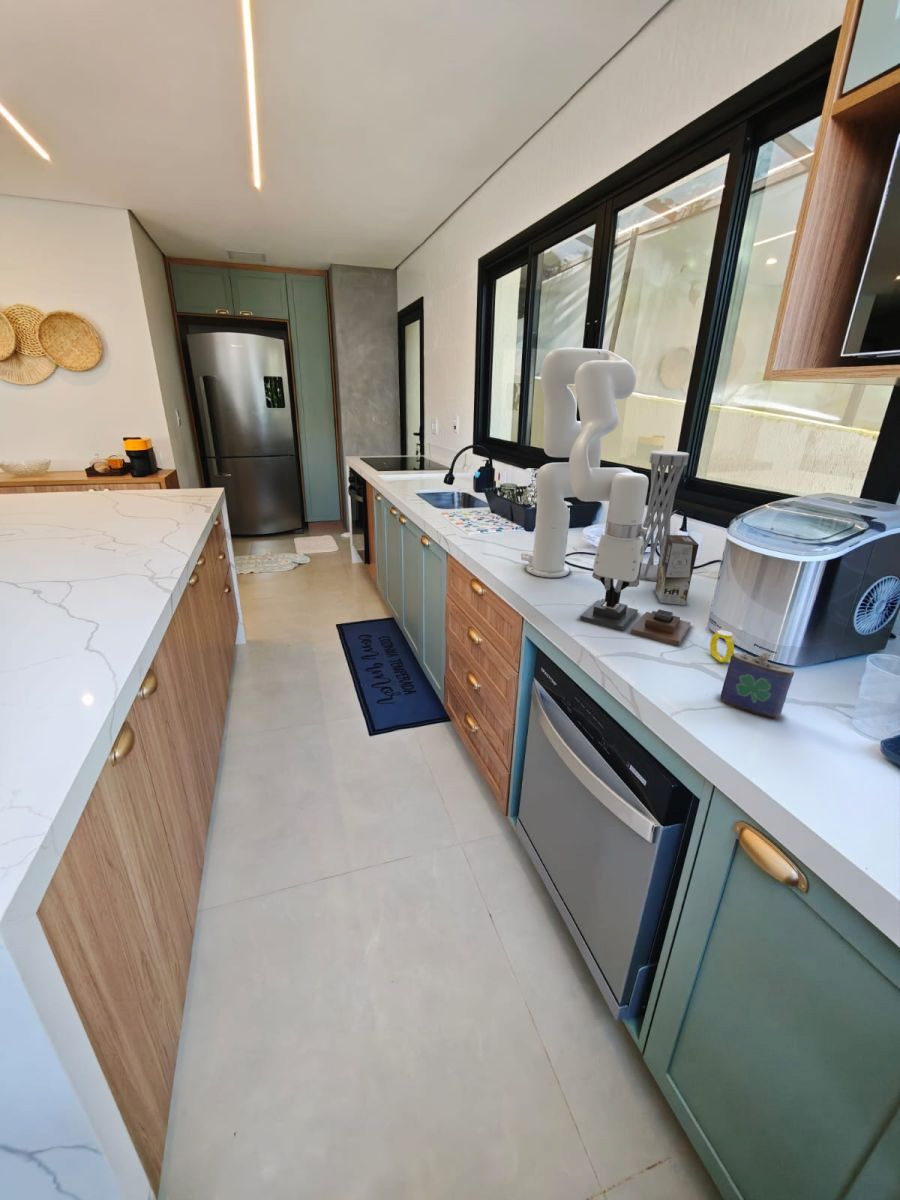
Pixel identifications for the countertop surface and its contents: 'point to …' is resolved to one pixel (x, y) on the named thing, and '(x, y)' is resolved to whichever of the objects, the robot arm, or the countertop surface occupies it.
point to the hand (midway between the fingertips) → (611, 605)
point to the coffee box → (676, 569)
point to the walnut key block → (661, 629)
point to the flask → (756, 685)
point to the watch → (729, 644)
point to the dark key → (663, 616)
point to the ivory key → (610, 607)
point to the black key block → (609, 615)
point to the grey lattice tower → (657, 462)
